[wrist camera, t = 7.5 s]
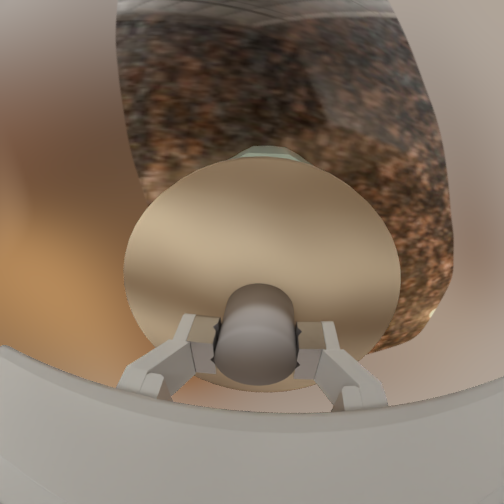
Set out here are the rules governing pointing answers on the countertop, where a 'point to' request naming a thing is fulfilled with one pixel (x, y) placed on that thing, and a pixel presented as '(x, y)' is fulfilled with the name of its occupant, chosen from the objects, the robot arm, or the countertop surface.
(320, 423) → the robot arm
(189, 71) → the countertop surface
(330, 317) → the lid
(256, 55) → the countertop surface
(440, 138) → the countertop surface
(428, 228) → the countertop surface
